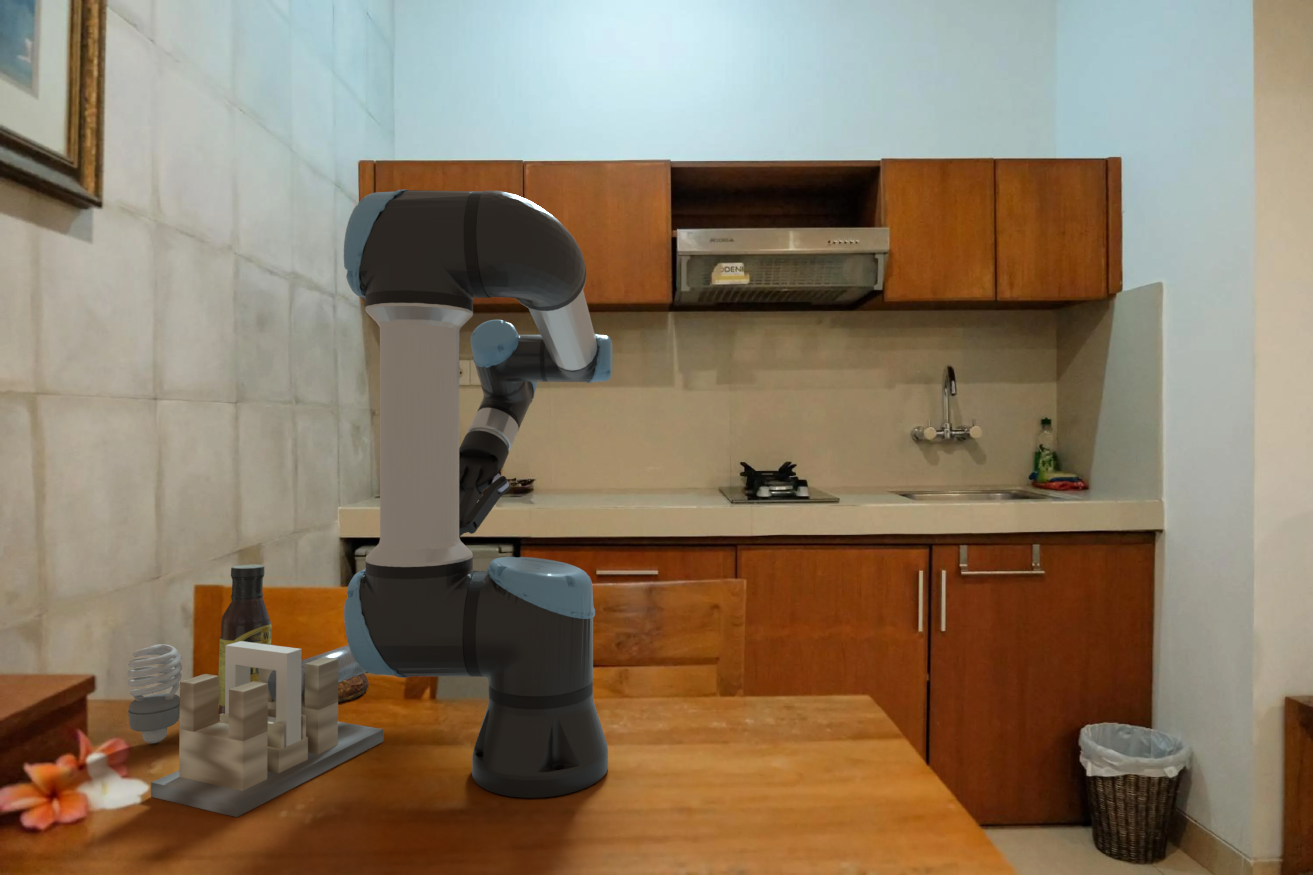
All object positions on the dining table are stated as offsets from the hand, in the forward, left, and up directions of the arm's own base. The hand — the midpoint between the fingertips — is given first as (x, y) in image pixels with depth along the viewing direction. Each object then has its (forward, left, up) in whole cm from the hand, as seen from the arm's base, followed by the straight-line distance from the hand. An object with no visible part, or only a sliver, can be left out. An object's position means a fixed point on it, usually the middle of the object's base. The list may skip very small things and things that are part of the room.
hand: (431, 568), depth 115 cm
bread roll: (+14, +5, -19) cm, 24 cm away
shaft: (0, +20, -12) cm, 23 cm away
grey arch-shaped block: (0, +29, -14) cm, 33 cm away
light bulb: (+19, +28, -19) cm, 39 cm away
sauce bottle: (+18, +16, -19) cm, 30 cm away
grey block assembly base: (0, +27, -18) cm, 33 cm away
